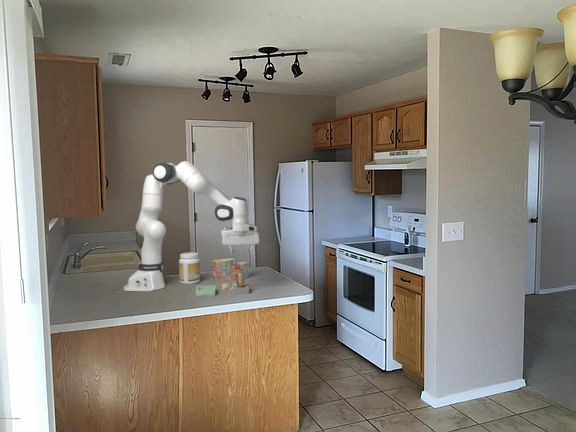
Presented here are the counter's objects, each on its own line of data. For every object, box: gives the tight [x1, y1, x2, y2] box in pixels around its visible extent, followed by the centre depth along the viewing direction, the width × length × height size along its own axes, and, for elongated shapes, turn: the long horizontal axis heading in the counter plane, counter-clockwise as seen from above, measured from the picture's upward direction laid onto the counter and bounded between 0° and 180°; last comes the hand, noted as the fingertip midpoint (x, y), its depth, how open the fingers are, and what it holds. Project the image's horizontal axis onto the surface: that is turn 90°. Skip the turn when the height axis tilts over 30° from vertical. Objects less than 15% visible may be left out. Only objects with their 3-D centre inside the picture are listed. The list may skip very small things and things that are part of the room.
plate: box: [221, 282, 237, 291], centre depth 274 cm, size 8×6×2 cm
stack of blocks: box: [212, 257, 250, 282], centre depth 297 cm, size 21×6×12 cm, turn 118°
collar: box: [233, 284, 250, 295], centre depth 267 cm, size 8×8×3 cm
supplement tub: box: [178, 252, 201, 285], centre depth 288 cm, size 12×12×17 cm
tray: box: [195, 284, 217, 297], centre depth 264 cm, size 10×10×3 cm
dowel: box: [238, 273, 245, 288], centre depth 266 cm, size 3×3×10 cm
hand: (241, 252), depth 265 cm, fingers open, 8 cm apart
